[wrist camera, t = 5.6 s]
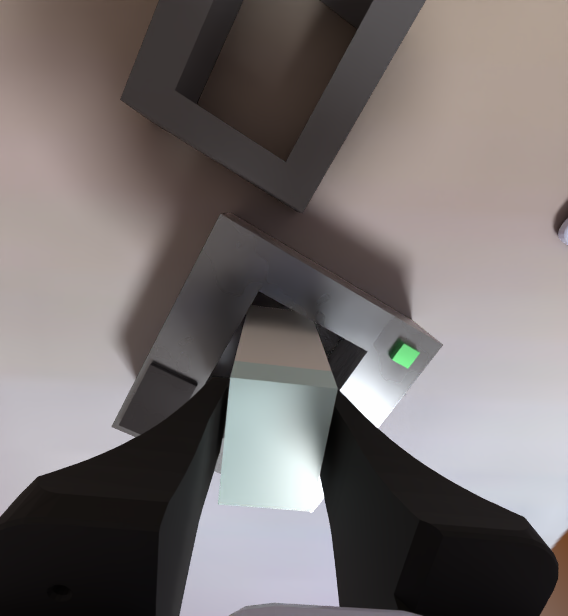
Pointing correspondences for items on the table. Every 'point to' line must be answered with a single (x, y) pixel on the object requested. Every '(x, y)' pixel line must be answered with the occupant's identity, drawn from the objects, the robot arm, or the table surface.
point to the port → (295, 295)
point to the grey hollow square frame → (228, 141)
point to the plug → (276, 413)
